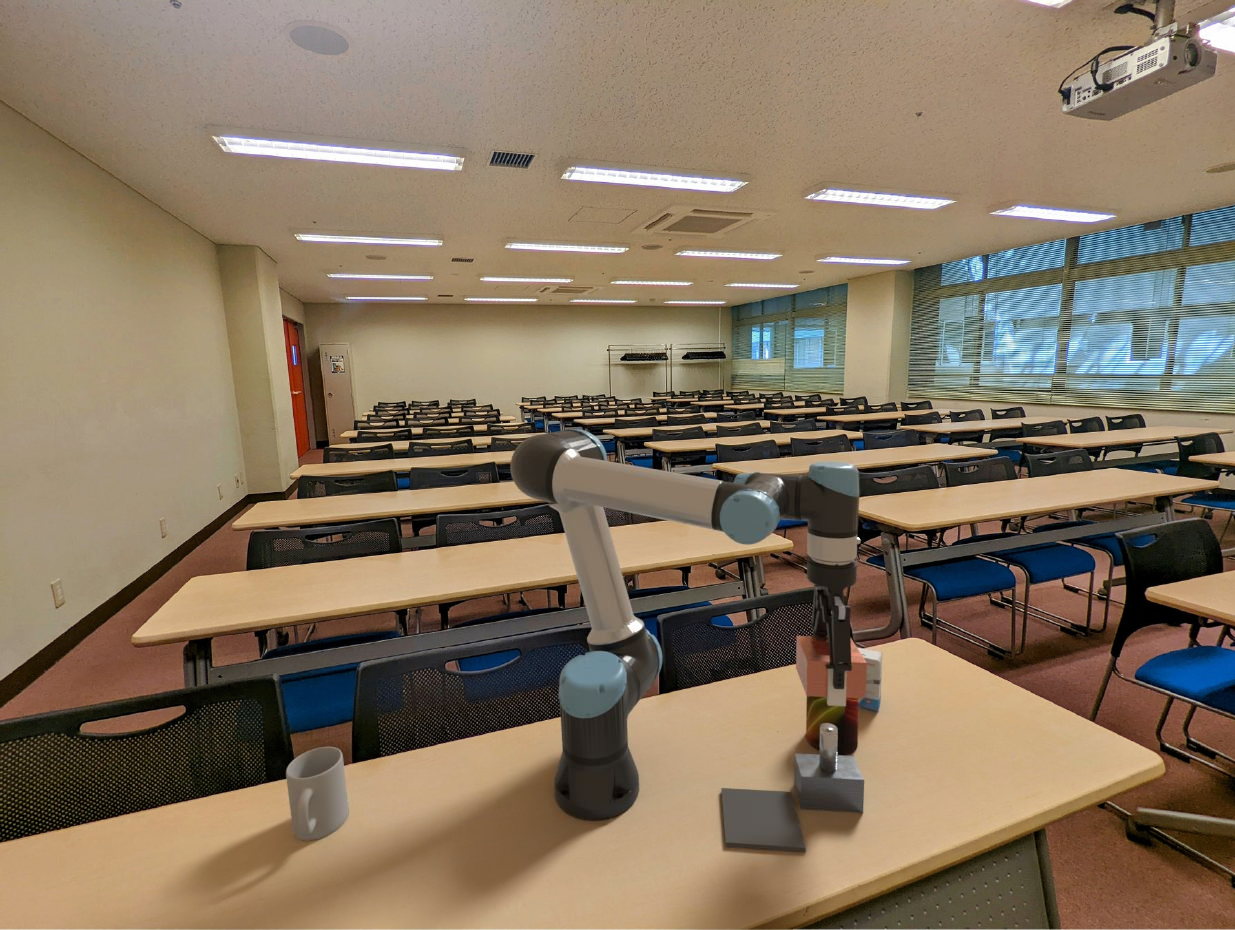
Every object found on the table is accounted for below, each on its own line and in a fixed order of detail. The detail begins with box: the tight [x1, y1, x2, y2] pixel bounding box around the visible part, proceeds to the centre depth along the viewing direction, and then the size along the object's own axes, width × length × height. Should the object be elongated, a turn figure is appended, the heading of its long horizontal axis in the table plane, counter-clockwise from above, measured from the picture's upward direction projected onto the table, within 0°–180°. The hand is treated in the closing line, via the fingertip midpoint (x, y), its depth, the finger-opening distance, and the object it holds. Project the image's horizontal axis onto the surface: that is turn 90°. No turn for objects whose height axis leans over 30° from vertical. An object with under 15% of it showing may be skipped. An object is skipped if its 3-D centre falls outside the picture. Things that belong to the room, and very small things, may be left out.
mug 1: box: [285, 746, 350, 842], centre depth 93 cm, size 12×8×11 cm
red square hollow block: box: [795, 635, 867, 698], centre depth 94 cm, size 9×9×6 cm
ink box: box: [857, 647, 883, 712], centre depth 125 cm, size 8×5×12 cm, turn 58°
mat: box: [720, 787, 807, 853], centre depth 93 cm, size 12×12×1 cm
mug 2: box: [805, 696, 860, 756], centre depth 114 cm, size 10×14×12 cm
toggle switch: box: [793, 723, 865, 814], centre depth 96 cm, size 10×6×13 cm, turn 83°
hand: (828, 688), depth 94 cm, fingers closed on red square hollow block, 9 cm apart
